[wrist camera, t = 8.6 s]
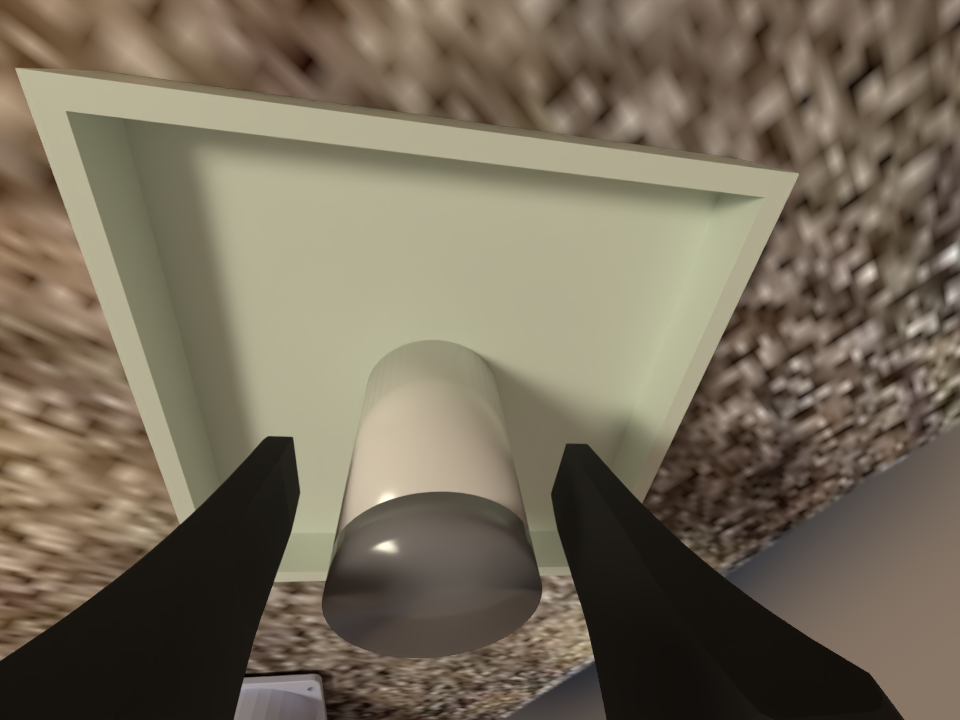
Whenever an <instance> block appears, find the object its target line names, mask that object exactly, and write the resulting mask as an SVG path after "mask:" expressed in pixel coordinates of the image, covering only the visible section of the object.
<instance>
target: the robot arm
mask: <svg viewBox="0 0 960 720" xmlns="http://www.w3.org/2000/svg"><path fill="white" fill-rule="evenodd" d="M299 497H300V486H299V478H298V471H297V463H296V455H295V448H294V440H293V437H285V436H267V437H266V438H265V439H263V440H262V441H261V443H260V444H259V445H258V446H257V447H256V448H255V449H254V450H253V451H252V453H251V454H250V455H249V456H248V457H247V458H246V459H245V460H244V461H243V462H242V463H241V465H240V466H239V467H238V468H237V469H236V470H235V471H234V472H233V473H232V474H231V475H230V476H229V477H228V478H227V479H226V480H225V481H224V482H223V483H222V484H221V485H220V486H219V487H218V488H217V489H216V491H215V492H214V493H213V494H212V495H211V496H210V497H209V498H208V499H207V500H206V501H205V502H204V503H203V504H202V505H201V506H200V507H198V508H197V509H196V510H195V511H194V512H193V513H192V514H191V515H190V516H189V517H188V518H187V519H186V520H185V521H183V522H182V523H181V524H180V525H179V526H178V527H177V528H176V529H175V530H174V531H173V532H172V533H170V534H169V535H168V536H167V537H166V538H165V539H164V540H163V541H161V542H160V543H159V544H158V545H157V546H156V547H155V548H153V549H152V550H151V551H150V552H149V553H148V554H146V555H145V556H144V557H143V558H142V559H140V560H139V561H138V562H137V563H135V564H134V565H133V566H132V567H131V568H129V569H128V570H127V571H126V572H124V573H123V574H122V575H121V576H119V577H118V578H117V579H116V580H114V581H113V582H112V583H110V584H109V585H108V586H106V587H105V588H104V589H102V590H101V591H100V592H98V593H97V594H96V595H94V596H93V597H92V598H90V599H89V600H88V601H87V602H85V603H84V604H83V605H81V606H80V607H78V608H77V609H76V610H74V611H73V612H72V613H70V614H69V615H67V616H66V617H65V618H63V619H62V620H60V621H59V622H58V623H56V624H55V625H53V626H52V627H50V628H49V629H47V630H46V631H44V632H43V633H41V634H40V635H38V636H37V637H35V638H34V639H32V640H31V641H29V642H28V643H27V644H25V645H24V646H22V647H21V648H19V649H18V650H16V651H15V652H13V653H12V654H10V655H9V656H7V657H6V658H4V659H3V660H1V661H0V720H327V713H326V706H325V699H324V692H323V684H322V678H321V676H320V675H318V674H298V675H280V676H261V677H244V676H245V672H246V668H247V664H248V660H249V656H250V653H251V649H252V645H253V641H254V638H255V635H256V632H257V629H258V625H259V622H260V619H261V616H262V614H263V611H264V608H265V605H266V602H267V600H268V597H269V594H270V591H271V588H272V586H273V583H274V580H275V577H276V574H277V572H278V569H279V566H280V563H281V560H282V557H283V555H284V552H285V549H286V546H287V543H288V540H289V537H290V534H291V532H292V527H293V523H294V519H295V515H296V510H297V506H298V501H299ZM551 499H552V504H553V510H554V516H555V521H556V526H557V530H558V534H559V537H560V540H561V543H562V547H563V550H564V553H565V556H566V559H567V562H568V566H569V569H570V572H571V575H572V578H573V581H574V584H575V587H576V591H577V594H578V597H579V600H580V603H581V606H582V609H583V613H584V617H585V620H586V624H587V627H588V632H589V636H590V641H591V645H592V650H593V654H594V659H595V663H596V668H597V673H598V678H599V683H600V688H601V693H602V698H603V703H604V708H605V713H606V719H607V720H904V719H903V717H902V716H901V715H900V713H899V712H898V711H897V709H896V708H895V707H894V705H893V704H892V703H891V701H890V700H889V699H888V697H887V696H886V695H885V693H884V692H883V691H882V689H881V688H880V686H879V685H878V684H877V683H876V681H875V680H874V679H873V677H872V676H871V675H870V674H869V673H868V672H866V671H864V670H862V669H861V668H859V667H858V666H856V665H854V664H853V663H851V662H849V661H847V660H846V659H844V658H843V657H841V656H839V655H838V654H836V653H834V652H833V651H831V650H829V649H828V648H826V647H824V646H823V645H821V644H819V643H818V642H816V641H814V640H812V639H811V638H810V637H808V636H806V635H805V634H803V633H802V632H800V631H799V630H797V629H796V628H794V627H793V626H791V625H790V624H788V623H786V622H785V621H784V620H782V619H781V618H779V617H778V616H776V615H775V614H773V613H772V612H770V611H769V610H768V609H766V608H764V607H763V606H762V605H760V604H759V603H757V602H756V601H755V600H753V599H752V598H751V597H749V596H748V595H747V594H745V593H744V592H743V591H741V590H740V589H739V588H737V587H736V586H735V585H733V584H732V583H731V582H729V581H728V580H727V579H725V578H724V577H723V576H722V575H720V574H719V573H718V572H716V571H715V570H714V569H713V568H711V567H710V566H709V565H708V564H707V563H706V562H704V561H703V560H702V559H701V558H700V557H698V556H697V555H696V554H695V553H694V552H693V551H691V550H690V549H689V548H688V547H687V546H686V545H684V544H683V543H682V542H681V541H680V540H679V539H678V538H677V537H676V536H674V535H673V534H672V533H671V532H670V531H669V530H668V529H667V528H666V527H665V526H664V525H663V524H662V523H661V522H660V521H659V520H658V519H657V518H656V517H655V516H654V515H653V514H652V513H651V512H650V511H649V510H648V509H647V508H646V507H645V506H644V505H643V504H642V503H641V502H640V501H639V500H638V499H637V498H636V497H635V496H634V495H633V494H632V493H631V492H630V491H629V489H628V488H627V487H626V486H625V485H624V484H623V483H622V482H621V481H620V480H619V479H618V477H617V476H616V475H615V474H614V473H613V472H612V471H611V470H610V469H609V467H608V466H607V465H606V464H605V463H604V462H603V461H602V460H601V458H600V457H599V456H598V455H597V454H596V453H595V452H594V451H593V450H592V448H591V447H590V446H589V445H588V444H571V443H566V446H565V449H564V453H563V456H562V459H561V462H560V466H559V469H558V472H557V475H556V479H555V482H554V485H553V488H552V492H551Z"/></svg>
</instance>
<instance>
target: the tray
mask: <svg viewBox="0 0 960 720" xmlns="http://www.w3.org/2000/svg"><path fill="white" fill-rule="evenodd" d="M15 69H16V72H17V75H18V77H19V80H20V83H21V86H22V88H23V91H24V94H25V97H26V99H27V102H28V105H29V108H30V111H31V113H32V116H33V119H34V122H35V124H36V127H37V130H38V133H39V135H40V138H41V141H42V144H43V147H44V149H45V152H46V155H47V158H48V160H49V163H50V166H51V169H52V171H53V174H54V177H55V180H56V182H57V185H58V188H59V191H60V194H61V196H62V199H63V202H64V205H65V207H66V210H67V213H68V216H69V218H70V221H71V224H72V227H73V230H74V232H75V235H76V238H77V241H78V243H79V246H80V249H81V252H82V254H83V257H84V260H85V263H86V266H87V268H88V271H89V274H90V277H91V279H92V282H93V285H94V288H95V290H96V293H97V296H98V299H99V301H100V304H101V307H102V310H103V313H104V315H105V318H106V321H107V324H108V326H109V329H110V332H111V335H112V337H113V340H114V343H115V346H116V349H117V351H118V354H119V357H120V360H121V362H122V365H123V368H124V371H125V373H126V376H127V379H128V382H129V384H130V387H131V390H132V393H133V396H134V398H135V401H136V404H137V407H138V409H139V412H140V415H141V418H142V420H143V423H144V426H145V429H146V432H147V434H148V437H149V440H150V443H151V445H152V448H153V451H154V454H155V456H156V459H157V462H158V465H159V468H160V470H161V473H162V476H163V479H164V481H165V484H166V487H167V490H168V492H169V495H170V498H171V501H172V503H173V506H174V509H175V512H176V515H177V517H178V520H179V523H180V524H181V523H182V522H183V521H185V520H186V519H187V518H188V517H189V516H190V515H191V514H192V513H193V512H194V511H195V510H196V509H197V508H198V507H200V506H201V505H202V504H203V503H204V502H205V501H206V500H207V499H208V498H209V497H210V496H211V495H212V494H213V493H214V492H215V491H216V489H217V488H218V487H219V486H220V485H221V484H222V483H223V482H224V481H225V480H226V479H227V478H228V477H229V476H230V475H231V474H232V473H233V472H234V471H235V470H236V469H237V468H238V467H239V466H240V465H241V463H242V462H243V461H244V460H245V459H246V458H247V457H248V456H249V455H250V454H251V453H252V451H253V450H254V449H255V448H256V447H257V446H258V445H259V444H260V443H261V441H262V440H263V439H265V438H266V437H267V436H285V437H293V440H294V448H295V455H296V463H297V471H298V478H299V486H300V497H299V501H298V506H297V510H296V515H295V519H294V523H293V527H292V532H291V534H290V537H289V540H288V543H287V546H286V549H285V552H284V555H283V557H282V560H281V563H280V566H279V569H278V572H277V574H276V577H275V580H274V582H291V581H326V578H327V573H328V569H329V564H330V559H331V554H332V549H333V544H334V539H335V535H336V530H337V525H338V520H339V515H340V510H341V505H342V501H343V496H344V491H345V486H346V481H347V476H348V472H349V467H350V462H351V457H352V452H353V447H354V442H355V438H356V433H357V428H358V423H359V418H360V413H361V408H362V404H363V399H364V394H365V389H366V384H367V381H368V378H369V375H370V373H371V371H372V370H373V368H374V367H375V365H376V364H377V363H378V362H379V361H380V360H381V359H382V358H383V357H384V356H385V355H387V354H388V353H389V352H391V351H392V350H394V349H396V348H398V347H400V346H402V345H405V344H408V343H411V342H416V341H421V340H443V341H449V342H453V343H457V344H460V345H462V346H464V347H467V348H468V349H470V350H472V351H474V352H475V353H476V354H478V355H479V356H480V357H481V358H482V359H483V360H484V361H485V362H486V363H487V364H488V366H489V367H490V369H491V371H492V372H493V374H494V377H495V380H496V384H497V389H498V393H499V398H500V402H501V406H502V411H503V415H504V420H505V424H506V429H507V433H508V437H509V442H510V446H511V451H512V455H513V459H514V464H515V468H516V473H517V477H518V482H519V486H520V490H521V495H522V499H523V504H524V508H525V513H526V517H527V521H528V526H529V530H530V535H531V539H532V543H533V548H534V552H535V557H536V561H537V566H538V570H539V574H540V576H551V575H571V572H570V569H569V566H568V562H567V559H566V556H565V553H564V550H563V547H562V543H561V540H560V537H559V534H558V530H557V526H556V521H555V516H554V510H553V504H552V499H551V492H552V488H553V485H554V482H555V479H556V475H557V472H558V469H559V466H560V462H561V459H562V456H563V453H564V449H565V446H566V443H571V444H588V445H589V446H590V447H591V448H592V450H593V451H594V452H595V453H596V454H597V455H598V456H599V457H600V458H601V460H602V461H603V462H604V463H605V464H606V465H607V466H608V467H609V469H610V470H611V471H612V472H613V473H614V474H615V475H616V476H617V477H618V479H619V480H620V481H621V482H622V483H623V484H624V485H625V486H626V487H627V488H628V489H629V491H630V492H631V493H632V494H633V495H634V496H635V497H636V498H637V499H638V500H639V501H640V502H641V503H643V501H644V499H645V496H646V494H647V492H648V490H649V488H650V486H651V484H652V482H653V480H654V478H655V475H656V473H657V471H658V469H659V467H660V465H661V463H662V461H663V459H664V457H665V455H666V452H667V450H668V448H669V446H670V444H671V442H672V440H673V438H674V436H675V434H676V431H677V429H678V427H679V425H680V423H681V421H682V419H683V417H684V415H685V413H686V410H687V408H688V406H689V404H690V402H691V400H692V398H693V396H694V394H695V392H696V390H697V387H698V385H699V383H700V381H701V379H702V377H703V375H704V373H705V371H706V369H707V366H708V364H709V362H710V360H711V358H712V356H713V354H714V352H715V350H716V348H717V345H718V343H719V341H720V339H721V337H722V335H723V333H724V331H725V329H726V327H727V325H728V322H729V320H730V318H731V316H732V314H733V312H734V310H735V308H736V306H737V304H738V301H739V299H740V297H741V295H742V293H743V291H744V289H745V287H746V285H747V283H748V280H749V278H750V276H751V274H752V272H753V270H754V268H755V266H756V264H757V262H758V260H759V257H760V255H761V253H762V251H763V249H764V247H765V245H766V243H767V241H768V239H769V236H770V234H771V232H772V230H773V228H774V226H775V224H776V222H777V220H778V218H779V216H780V213H781V211H782V209H783V207H784V205H785V203H786V201H787V199H788V197H789V195H790V192H791V190H792V188H793V186H794V184H795V182H796V180H797V178H798V176H799V174H798V173H794V172H790V171H786V170H782V169H778V168H774V167H770V166H766V165H762V164H758V163H753V162H749V161H745V160H741V159H737V158H731V157H724V156H716V155H709V154H702V153H694V152H687V151H680V150H673V149H665V148H658V147H651V146H644V145H636V144H629V143H622V142H615V141H607V140H600V139H593V138H586V137H578V136H571V135H564V134H557V133H549V132H542V131H535V130H528V129H520V128H513V127H506V126H499V125H491V124H484V123H477V122H469V121H462V120H455V119H448V118H440V117H433V116H426V115H419V114H411V113H404V112H397V111H390V110H382V109H375V108H368V107H361V106H353V105H346V104H339V103H332V102H324V101H317V100H310V99H303V98H295V97H288V96H281V95H274V94H266V93H259V92H252V91H244V90H237V89H230V88H223V87H215V86H208V85H201V84H194V83H186V82H179V81H172V80H165V79H157V78H150V77H143V76H136V75H128V74H121V73H114V72H107V71H90V70H62V69H34V68H15Z"/></svg>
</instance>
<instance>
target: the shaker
mask: <svg viewBox="0 0 960 720" xmlns="http://www.w3.org/2000/svg"><path fill="white" fill-rule="evenodd" d="M541 596H542V584H541V579H540V574H539V570H538V566H537V561H536V557H535V552H534V548H533V543H532V539H531V535H530V530H529V526H528V521H527V517H526V513H525V508H524V504H523V499H522V495H521V490H520V486H519V482H518V477H517V473H516V468H515V464H514V459H513V455H512V451H511V446H510V442H509V437H508V433H507V429H506V424H505V420H504V415H503V411H502V406H501V402H500V398H499V393H498V389H497V384H496V380H495V377H494V374H493V372H492V371H491V369H490V367H489V366H488V364H487V363H486V362H485V361H484V360H483V359H482V358H481V357H480V356H479V355H478V354H476V353H475V352H474V351H472V350H470V349H468V348H467V347H464V346H462V345H460V344H457V343H453V342H449V341H443V340H421V341H416V342H411V343H408V344H405V345H402V346H400V347H398V348H396V349H394V350H392V351H391V352H389V353H388V354H387V355H385V356H384V357H383V358H382V359H381V360H380V361H379V362H378V363H377V364H376V365H375V367H374V368H373V370H372V371H371V373H370V375H369V378H368V381H367V384H366V389H365V394H364V399H363V404H362V408H361V413H360V418H359V423H358V428H357V433H356V438H355V442H354V447H353V452H352V457H351V462H350V467H349V472H348V476H347V481H346V486H345V491H344V496H343V501H342V505H341V510H340V515H339V520H338V525H337V530H336V535H335V539H334V544H333V549H332V554H331V559H330V564H329V569H328V573H327V578H326V583H325V588H324V593H323V598H322V610H323V615H324V617H325V619H326V622H327V623H328V624H329V626H330V627H331V629H332V630H333V631H334V632H335V633H336V634H337V635H339V636H340V637H341V638H343V639H344V640H346V641H347V642H349V643H351V644H353V645H355V646H357V647H360V648H362V649H365V650H368V651H371V652H374V653H379V654H383V655H388V656H395V657H406V658H431V657H442V656H450V655H455V654H461V653H465V652H469V651H473V650H476V649H479V648H482V647H485V646H487V645H490V644H492V643H495V642H497V641H499V640H501V639H503V638H505V637H506V636H508V635H510V634H511V633H513V632H514V631H516V630H517V629H518V628H520V627H521V626H522V625H523V624H524V623H525V622H526V621H527V620H528V619H529V618H530V617H531V616H532V615H533V613H534V612H535V611H536V609H537V607H538V605H539V603H540V599H541Z"/></svg>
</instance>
